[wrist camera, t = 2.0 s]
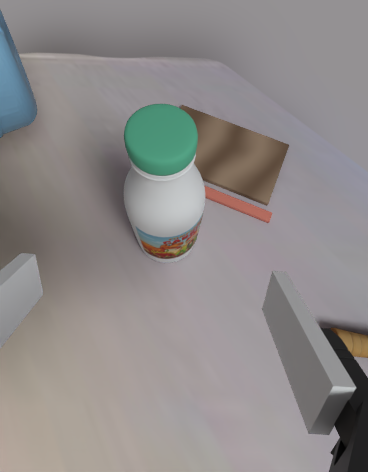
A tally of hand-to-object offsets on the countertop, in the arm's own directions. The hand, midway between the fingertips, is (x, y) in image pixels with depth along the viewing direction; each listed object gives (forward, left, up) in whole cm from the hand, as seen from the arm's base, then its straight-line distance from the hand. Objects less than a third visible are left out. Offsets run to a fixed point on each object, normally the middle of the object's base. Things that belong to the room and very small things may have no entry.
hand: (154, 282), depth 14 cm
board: (-1, +24, -18) cm, 30 cm away
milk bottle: (-3, +8, -18) cm, 20 cm away
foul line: (-1, +17, -18) cm, 24 cm away
